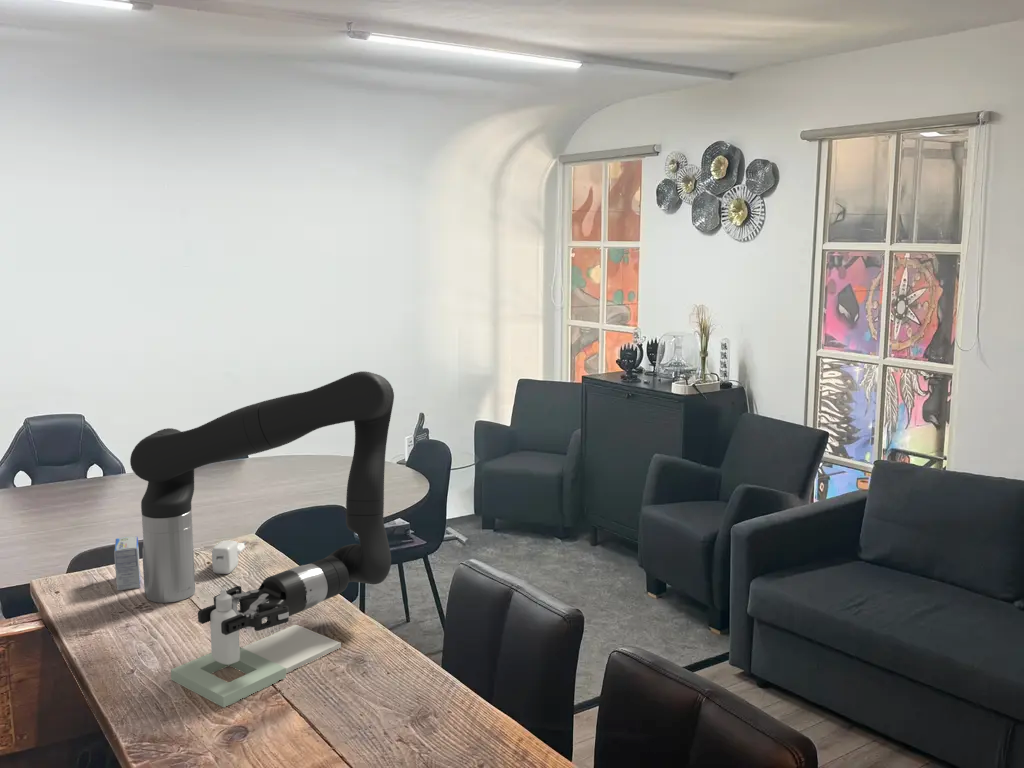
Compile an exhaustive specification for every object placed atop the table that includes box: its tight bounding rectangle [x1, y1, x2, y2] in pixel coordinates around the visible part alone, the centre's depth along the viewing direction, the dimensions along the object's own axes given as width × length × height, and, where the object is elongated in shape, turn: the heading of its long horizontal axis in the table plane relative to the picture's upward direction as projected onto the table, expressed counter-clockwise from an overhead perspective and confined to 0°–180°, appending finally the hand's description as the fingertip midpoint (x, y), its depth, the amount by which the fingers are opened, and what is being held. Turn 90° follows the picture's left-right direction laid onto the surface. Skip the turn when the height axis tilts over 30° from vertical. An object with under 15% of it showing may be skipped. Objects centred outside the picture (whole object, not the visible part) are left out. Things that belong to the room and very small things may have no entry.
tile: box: [241, 624, 342, 674], centre depth 161 cm, size 12×12×1 cm
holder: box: [170, 646, 287, 708], centre depth 151 cm, size 14×12×2 cm
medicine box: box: [113, 535, 141, 591], centre depth 189 cm, size 8×4×9 cm, turn 22°
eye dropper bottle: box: [209, 587, 241, 665], centre depth 149 cm, size 4×6×12 cm
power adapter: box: [211, 539, 247, 575], centre depth 200 cm, size 11×5×6 cm, turn 175°
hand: (211, 623), depth 147 cm, fingers closed on eye dropper bottle, 5 cm apart
